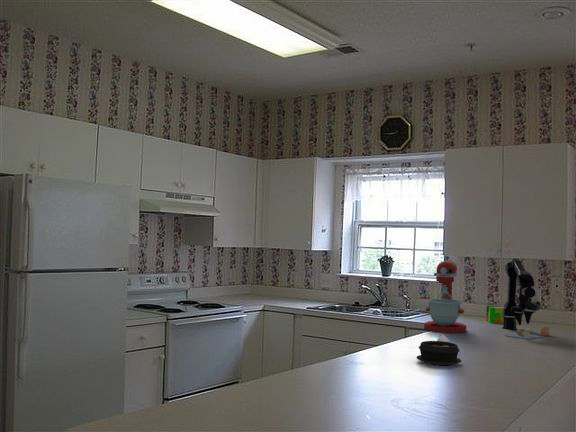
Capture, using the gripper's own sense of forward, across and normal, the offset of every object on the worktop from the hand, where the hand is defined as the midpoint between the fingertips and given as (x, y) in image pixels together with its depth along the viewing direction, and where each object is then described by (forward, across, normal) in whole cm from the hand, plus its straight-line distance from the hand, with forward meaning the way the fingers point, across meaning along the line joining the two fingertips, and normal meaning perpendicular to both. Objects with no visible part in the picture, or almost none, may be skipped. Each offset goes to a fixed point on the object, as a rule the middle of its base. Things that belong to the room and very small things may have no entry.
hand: (523, 324), depth 343 cm
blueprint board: (+7, 0, 0) cm, 7 cm away
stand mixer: (+7, -18, +39) cm, 44 cm away
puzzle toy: (+7, +42, +40) cm, 59 cm away
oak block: (+6, 0, 0) cm, 6 cm away
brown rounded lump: (+7, +15, -5) cm, 17 cm away
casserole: (+7, -106, -16) cm, 107 cm away
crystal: (+7, -82, -3) cm, 82 cm away
